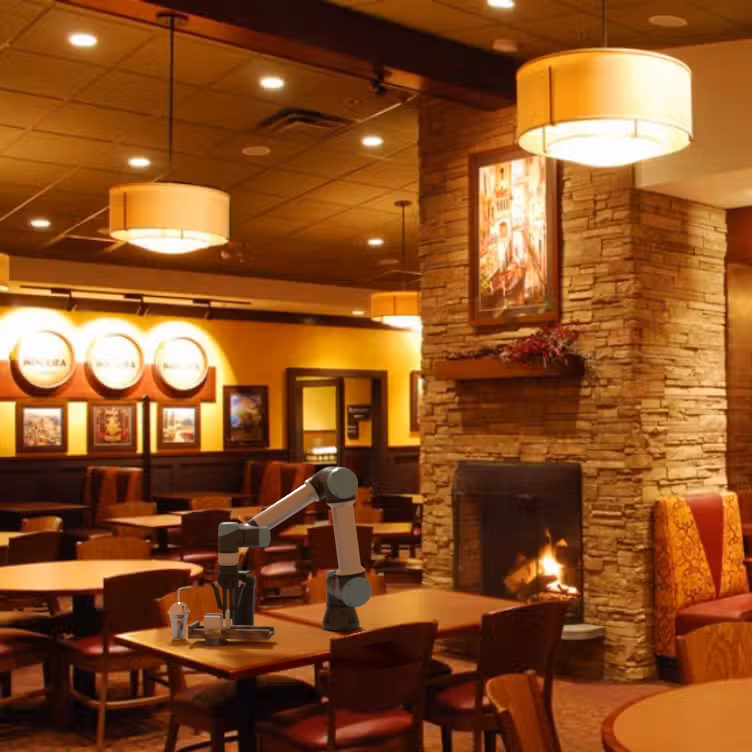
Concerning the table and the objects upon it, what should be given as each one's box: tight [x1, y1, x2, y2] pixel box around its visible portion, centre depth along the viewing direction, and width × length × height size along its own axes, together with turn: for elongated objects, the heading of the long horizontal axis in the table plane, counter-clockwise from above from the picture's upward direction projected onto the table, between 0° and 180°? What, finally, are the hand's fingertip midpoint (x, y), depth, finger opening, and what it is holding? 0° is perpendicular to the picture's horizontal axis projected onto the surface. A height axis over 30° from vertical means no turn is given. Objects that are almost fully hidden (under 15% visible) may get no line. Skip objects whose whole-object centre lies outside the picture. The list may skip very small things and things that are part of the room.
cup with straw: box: [167, 585, 193, 641], centre depth 425 cm, size 8×9×20 cm
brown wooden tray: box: [187, 620, 276, 647], centre depth 415 cm, size 30×13×7 cm, turn 84°
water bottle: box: [231, 570, 257, 626], centre depth 443 cm, size 10×10×23 cm
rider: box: [203, 612, 224, 629], centre depth 416 cm, size 6×6×7 cm
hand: (228, 627), depth 415 cm, fingers closed
